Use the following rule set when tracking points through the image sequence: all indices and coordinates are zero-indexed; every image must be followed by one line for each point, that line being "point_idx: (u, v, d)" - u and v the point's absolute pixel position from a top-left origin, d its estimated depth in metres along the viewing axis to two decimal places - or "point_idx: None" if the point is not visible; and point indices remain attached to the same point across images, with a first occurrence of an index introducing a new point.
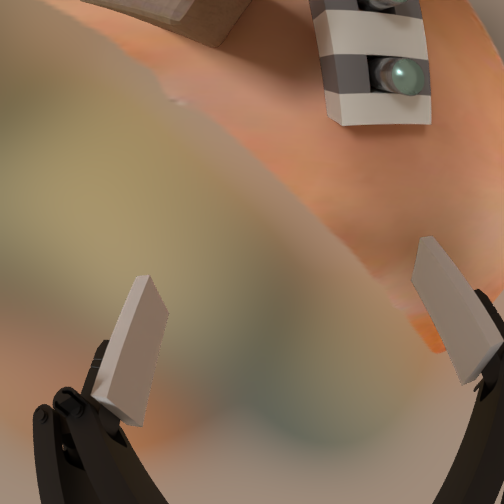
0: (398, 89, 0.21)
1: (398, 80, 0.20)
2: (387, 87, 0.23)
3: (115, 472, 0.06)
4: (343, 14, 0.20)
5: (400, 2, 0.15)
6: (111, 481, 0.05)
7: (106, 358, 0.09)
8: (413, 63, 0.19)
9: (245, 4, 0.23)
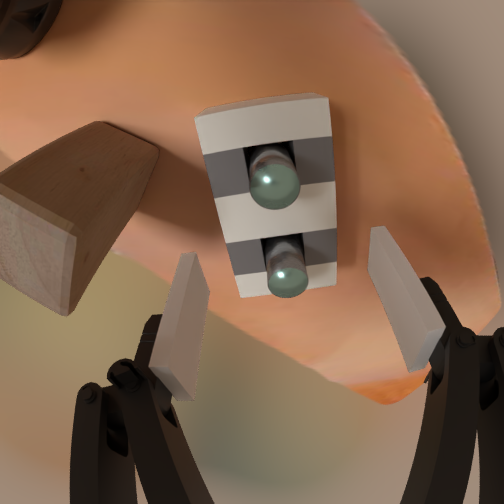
0: (276, 294, 0.28)
1: (276, 288, 0.28)
2: None
3: (165, 455, 0.06)
4: (233, 200, 0.28)
5: (282, 207, 0.23)
6: (158, 464, 0.06)
7: (162, 329, 0.10)
8: (294, 270, 0.27)
9: (146, 178, 0.30)
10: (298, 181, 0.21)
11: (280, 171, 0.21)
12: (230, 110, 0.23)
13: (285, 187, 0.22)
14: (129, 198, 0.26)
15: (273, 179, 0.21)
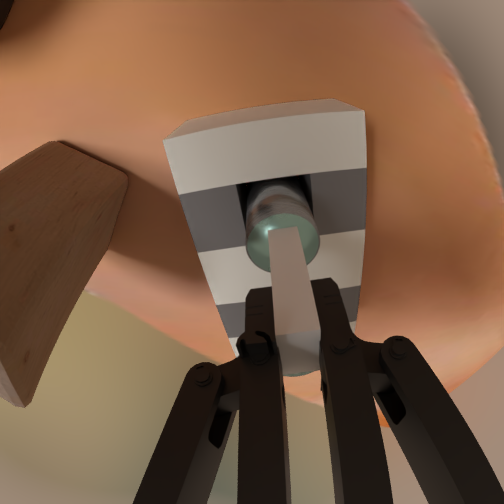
0: None
1: None
2: None
3: (277, 440, 0.06)
4: (224, 255, 0.20)
5: None
6: (266, 448, 0.06)
7: (277, 299, 0.10)
8: None
9: (112, 216, 0.23)
10: (317, 237, 0.15)
11: (292, 224, 0.14)
12: (216, 128, 0.15)
13: None
14: (85, 252, 0.18)
15: None
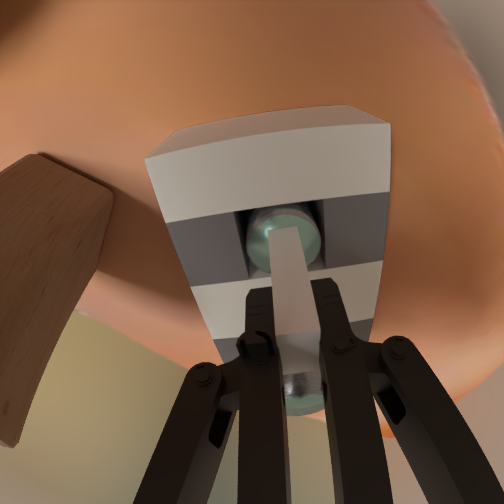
0: None
1: None
2: None
3: (277, 440, 0.06)
4: (220, 290, 0.18)
5: None
6: (267, 448, 0.06)
7: (277, 298, 0.10)
8: (312, 395, 0.16)
9: (96, 239, 0.20)
10: (318, 238, 0.15)
11: (292, 225, 0.14)
12: (209, 144, 0.12)
13: None
14: (66, 284, 0.16)
15: None
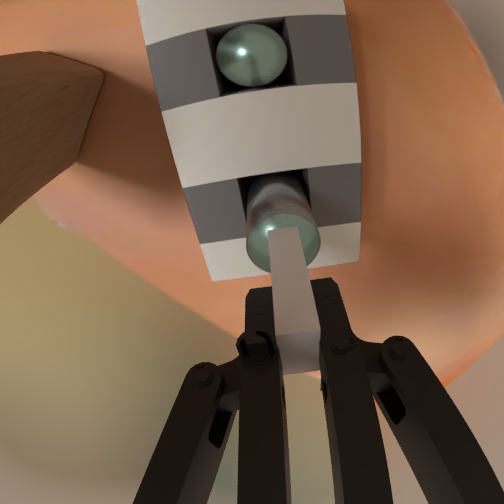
0: (263, 268, 0.16)
1: (262, 255, 0.16)
2: None
3: (277, 440, 0.06)
4: (191, 112, 0.15)
5: (264, 83, 0.14)
6: (267, 448, 0.06)
7: (277, 298, 0.10)
8: (294, 220, 0.14)
9: (81, 108, 0.18)
10: (283, 47, 0.13)
11: (258, 33, 0.12)
12: None
13: (266, 54, 0.13)
14: (43, 123, 0.14)
15: (249, 44, 0.13)
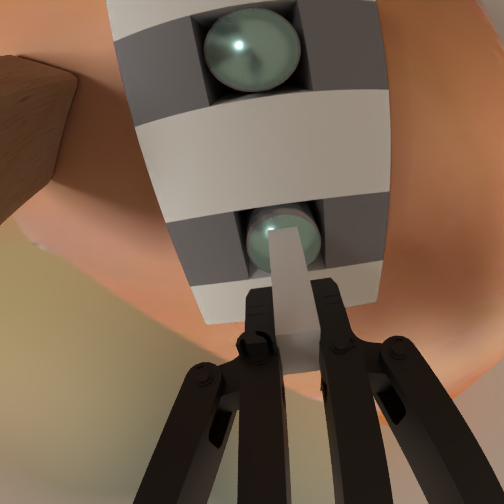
0: (263, 269, 0.16)
1: (262, 256, 0.16)
2: None
3: (277, 440, 0.06)
4: (172, 127, 0.12)
5: (269, 87, 0.11)
6: (267, 448, 0.06)
7: (277, 299, 0.10)
8: (294, 220, 0.14)
9: (50, 120, 0.14)
10: (296, 38, 0.09)
11: (261, 20, 0.09)
12: None
13: (272, 48, 0.09)
14: (0, 145, 0.10)
15: (249, 34, 0.09)
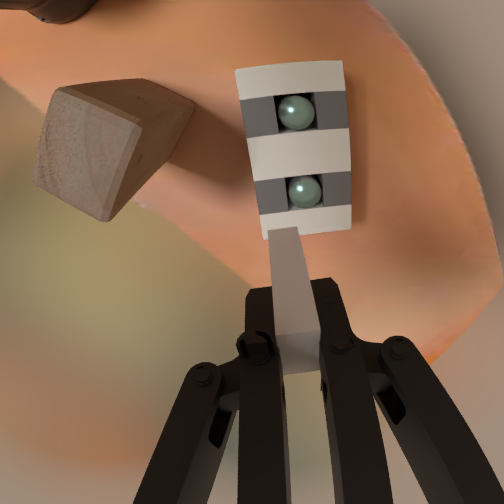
0: (296, 204, 0.35)
1: (295, 198, 0.34)
2: None
3: (277, 440, 0.06)
4: (263, 140, 0.31)
5: (302, 128, 0.30)
6: (267, 448, 0.06)
7: (277, 298, 0.10)
8: (310, 182, 0.33)
9: (183, 126, 0.34)
10: (313, 109, 0.28)
11: (300, 102, 0.28)
12: (264, 65, 0.26)
13: (304, 113, 0.29)
14: (171, 134, 0.29)
15: (296, 107, 0.28)
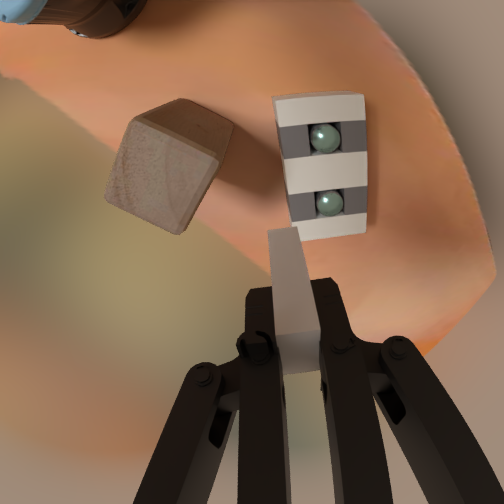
0: (322, 213, 0.42)
1: (322, 208, 0.41)
2: None
3: (277, 440, 0.06)
4: (297, 161, 0.37)
5: (329, 151, 0.36)
6: (267, 448, 0.06)
7: (277, 299, 0.10)
8: (334, 195, 0.40)
9: None
10: (339, 136, 0.35)
11: (329, 130, 0.34)
12: (300, 98, 0.32)
13: (332, 139, 0.35)
14: None
15: (325, 134, 0.35)
